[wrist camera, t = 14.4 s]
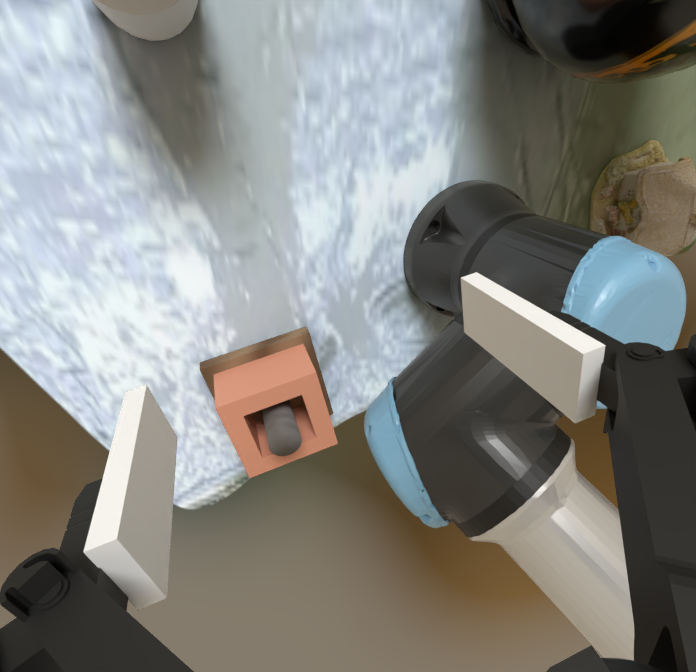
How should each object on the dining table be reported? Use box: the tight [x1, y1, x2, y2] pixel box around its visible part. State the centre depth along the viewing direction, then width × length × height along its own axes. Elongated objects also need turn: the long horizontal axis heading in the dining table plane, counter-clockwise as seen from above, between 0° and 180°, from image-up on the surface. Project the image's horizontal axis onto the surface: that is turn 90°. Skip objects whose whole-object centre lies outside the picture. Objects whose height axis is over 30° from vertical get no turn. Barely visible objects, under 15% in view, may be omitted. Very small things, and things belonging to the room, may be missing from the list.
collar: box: [214, 344, 338, 478], centre depth 45 cm, size 10×10×6 cm
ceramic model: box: [589, 140, 696, 256], centre depth 48 cm, size 14×11×10 cm
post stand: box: [200, 327, 333, 456], centre depth 44 cm, size 12×12×10 cm
